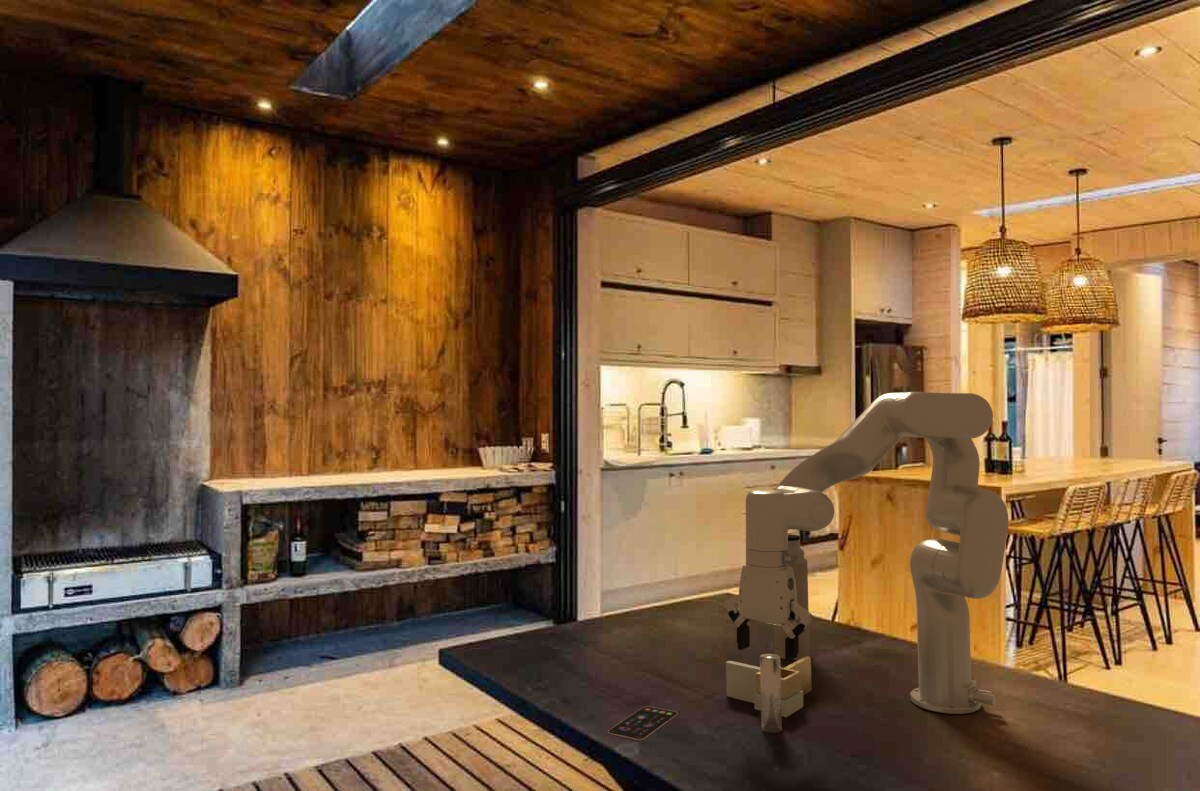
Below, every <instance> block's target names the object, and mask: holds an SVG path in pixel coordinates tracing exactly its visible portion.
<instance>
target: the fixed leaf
mask: <svg viewBox="0 0 1200 791" xmlns="http://www.w3.org/2000/svg"><path fill="white" fill-rule="evenodd" d="M811 659H812V658H811V656H809V657H808V656H806V657H804V658H802V659H800V660H795V661H794V662H793V663H791V664H788V665H787V666H785V667H782V666H780V671H781V698H784V699H786V698H787V697H789V696H791V695H793V694H794V693H796V692H798V691H799V690H800V691H803V696H804V695H806V694H808V693H809V692H811V691H812V660H811ZM756 692H759V693H761V683H760V672H758V673H756Z"/></svg>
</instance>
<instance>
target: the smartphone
mask: <svg viewBox="0 0 1200 791" xmlns="http://www.w3.org/2000/svg"><path fill="white" fill-rule="evenodd" d="M678 714H679V713H678V711H675V710H670V709H664V708H659V707H655V706H643V707H641V708H640V709H638V710H637V711H635V712H633V713H632V714H630V715H628V716H627V717H626V718H625V719H623V720H621V721H620V722H618V723H617V724H616V725H614V726H612V727H611V728H610V729H609V730H607V734H609V735H611V736H616V737H620V738H625V739H629V740H634V741H637V742H638V741H645V740H646V739H647V738H649V737H650V736H651V735H652V734H655V733H656V732H657V731H658V730H659V729H661V728H662V727H663V726H665V725H666V724H668V723H669V722H671V721H672V720H673V719H674V718H675V717H677V716H678Z"/></svg>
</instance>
